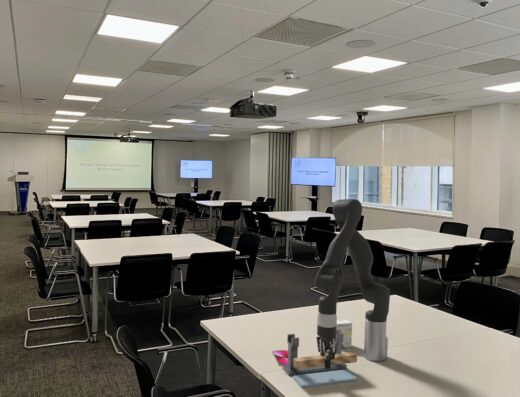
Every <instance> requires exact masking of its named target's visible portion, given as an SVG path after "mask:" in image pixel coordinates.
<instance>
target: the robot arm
mask: <svg viewBox="0 0 520 397" xmlns="http://www.w3.org/2000/svg"><path fill="white" fill-rule="evenodd" d="M332 213H333V217H334V220H335V223H336V224H337V226H338V229H339V233H338V234H337V235H336V236H335V237H334V238H333V240H332V241H331V242H330V244H329V246H328V249H327V252H326V256H325V259H324V261H323V263H322V264H321V266H320V268H319V270H318V271H317V273H316V275H315V276H314V286H315V287H316V289H318V290H321V291H324V292H329V294H328V295H322V296H320V297H319V299H318V309H317V310H318V313H317V318H316V319H317V320H316V322H317V323H316V334H317V336H316V345H317V351H318V352H317V353H319V356H320V355H325V369H330V368H331V360H334V357H335V354H336V351H337V348H336V347H334V346H333V338H334V337H335V336H336V328H337V320H338V318H337V317H338V316H337V309H338V308H337V304H338V303H337V302H338V298H339V295H340V292H341V290H342V284H343V279H342V277H341V276H340V275H339V274H337V273H331V272H333V271H337V270H341V269H342V267H343V264H344V260H345V258H346V254H347V250H348V253H349V256H350V259H351V261H352V263H353V266H354V270H355V272H356V276H357V279H358V282H359V283H358V284H359V288H360V291H361V295H362V297H363V299H364V300H365V301H366V302H368V303H370V304H373V309H369V310H367V311H365V316H364V317H365V318H364V319H365V320H364V342H363V344H364V345H363V357H364V358H365V359H366V360H370V361H372V362H381V361H382V362H383V361H385V360H387V359H388V345H389V337H388V336H387V319H388V315H389V312H390V311H389V310H390V300H391V293H390V292H391V291H390V288H389V287H388V286H387V285H385V284H381V283H378V282H375V281H374V279H373V275H372V273H371V271H372V270H371V269H372V265H373V263H374V255H373V252H372V247H371V245H370V243H369V241H368V240H367V239H366V238H365V237H364V236H363V235H362V234H361V233H360V232H359V231H358V230H357V227H358V224H359V222H360V220H361V217H362V214H363V206H362V203H361V202H360V200H359V199H356V198H347V199H337V200H335V201H334V202H333V204H332ZM327 355H328V356H327Z"/></svg>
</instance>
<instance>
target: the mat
mask: <svg viewBox="0 0 520 397" xmlns="http://www.w3.org/2000/svg"><path fill="white" fill-rule="evenodd" d="M292 378H293V380H294V381H295V382H296V384H298V386H299V387H300V388H309V387H317V386H324V385H332V384H333V385H334V384H340V383H348V382H355V381H356V382H357V381H358V380H359V378H358V377H357V376H356V375H354V374H353V372H351V371H350V370H348V368H347V369H340V370H332V371H324V372H315V373H307V374H298V375H292Z"/></svg>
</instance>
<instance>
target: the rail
mask: <svg viewBox="0 0 520 397" xmlns="http://www.w3.org/2000/svg"><path fill="white" fill-rule="evenodd" d="M327 356H328V354H327ZM357 360H358V354H356V353H355V352H354V351H351V352H342V353H339V354H335V357H334V360H331V365H337V364H346V365H347V364H351V363H352V364H353V363H357V362H358V361H357ZM293 366H294V367H295V368H296V369H301V368H310V367H319V366H325V355H320V354H319V355H309V356H303V357H302V356H301V357H297V358H294V359H293Z"/></svg>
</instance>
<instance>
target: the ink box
mask: <svg viewBox="0 0 520 397" xmlns="http://www.w3.org/2000/svg"><path fill="white" fill-rule="evenodd" d="M336 330H339V332H338V334H342V333H343V334H344V335H343V342H342V349H344V348H351V347H352V339H353V337H352V336H353V322H352V321H350V320H349V319H337V328H336Z"/></svg>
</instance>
